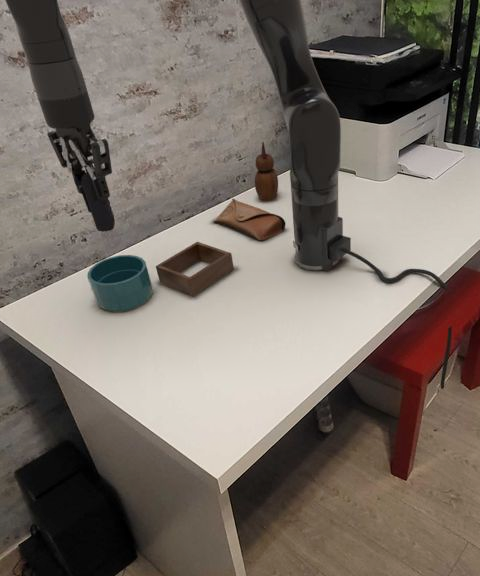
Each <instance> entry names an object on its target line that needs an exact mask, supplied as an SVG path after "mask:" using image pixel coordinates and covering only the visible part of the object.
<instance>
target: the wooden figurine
mask: <svg viewBox="0 0 480 576" xmlns="http://www.w3.org/2000/svg"><path fill="white" fill-rule="evenodd" d="M265 147H266V146H265V142H264V141H261V154H258V155H257V156H256V157H255V167H256V170H257V171H256V173H255V175H254V189H255V192H256V195H257V196H258V198H259V199H260V200H262V201H271V200H273V199H275V198H276V197H277V195H278V191H279V177H278V174H277V173H278V172H277V170H275V168H274V167H275V163H274V162H275V161H274V158H273V156H272V154H269V153H266V148H265Z"/></svg>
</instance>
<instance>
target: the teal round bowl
mask: <svg viewBox="0 0 480 576" xmlns="http://www.w3.org/2000/svg"><path fill="white" fill-rule="evenodd" d="M87 280H88V283H89V286H90V288H91V291H92V294H93V296H94V297H93V298H94V299H95V302H96V304H97V305H98V307H99V308H101V309H103V310H106V311H109V312H115V313H117V312H118V313H119V312H120V313H121V312H127V311H130V310H133V309H136V308H138V307H140V306H142V305H144V304H145V303H146V302H148V301H149V299H150V298H151V297H152V295H153V293H154V288H153V284H152V280H151V276H150V273H149V269H148V266H147V262H146V261H145V259H144V258H143V257H140V256H138V255H132V254H121V255H115V256H111V257H108V258H105V259H102V260H100V261H98V262H97V263H94V265H93V266H92V267H90V269H89V270H88V271H87Z"/></svg>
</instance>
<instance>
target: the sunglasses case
mask: <svg viewBox="0 0 480 576" xmlns="http://www.w3.org/2000/svg"><path fill="white" fill-rule="evenodd" d="M213 223H216V224H220V225H223V226H225V227H228V228H230V229H233V230H235V231H237V232H239V233H241V234H243V235H246V236H247V237H250V238H253V239H256V240H258V241H265V240H268V239H270V238H273V237H275V236H277V235H280V234H281V233H283V232H284V230H285V229H286V221H285V219H284V218H283V217H282V216H280V215H278V214H275V213H271V212H269V211H267V210H264V209H262V208H259V207H256V206H253V205H251V204H248V203H244V202H241V201H239V200H237V199H236V198H231V201H230V202H229V204H228V205H227V206H226V207H225V208H224V209H223V210H222V212H221V213H219V215H218V216H217V217H216V219H214V220H213Z"/></svg>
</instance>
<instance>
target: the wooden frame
mask: <svg viewBox="0 0 480 576" xmlns="http://www.w3.org/2000/svg"><path fill="white" fill-rule="evenodd" d="M199 261H200V262H201V261H202V262H205V263H208V265H207V266H205V267H204V268H203V267H202V268H201V269H200V270H198V271H197V272H195V273H194V274H193V275H191V276H189V275H186V274H184V273H182V272H183V271H185V270H187V269H189V268H190V267H192V266H194V265H195V264H196V263H198V262H199ZM234 270H235V267H234V260H233V255H232V252H229V251H227V250H224V249H221V248H217V247H215V246H212V245H208V244H206V243H203V242H200V241H196V242H194V243H192V244H191V245H189V246H187V247H185V248H184V249H182V250H181V251H179V252H177V253H175V254H173V255H172V256H170V257H168V258H167V259H165V260H164V261H162V262H159V263H158V264H157V265H155V271H156V273H157V277H158V281H159V283H160V284H162V285H165V286H167V287H169V288H171V289H174V290H176V291H179V292H182V293H184V294H186V295H188V296H191V297H196V296H197V295H199V294H200V293H202V292H203V291H205V290H206V289H208V288H209V287H210V286H212V285H214V283H217V282H218V281H220V280H221V279H222V278H224V277H225V276H227V275H228V274H230V273H231V272H234Z"/></svg>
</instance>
